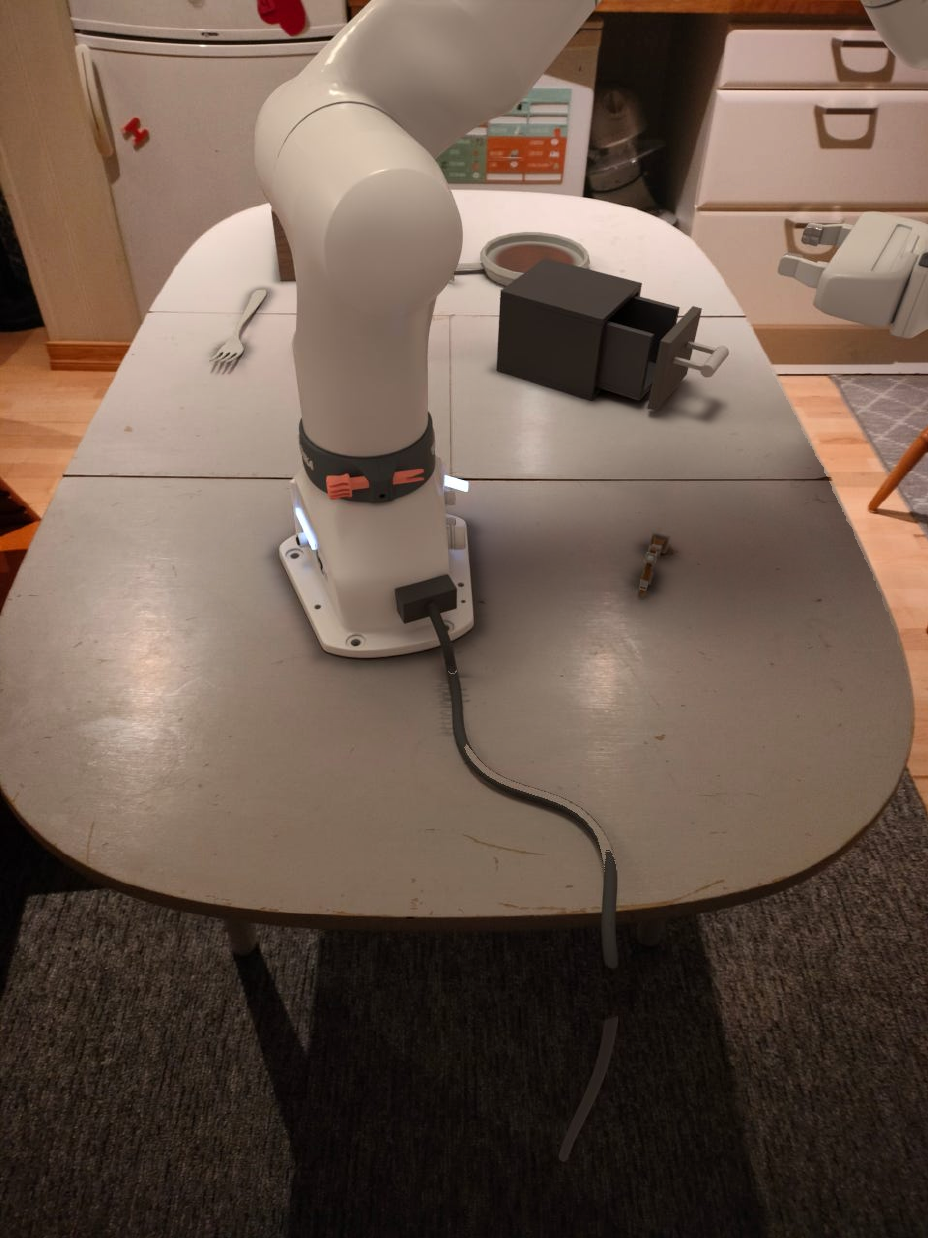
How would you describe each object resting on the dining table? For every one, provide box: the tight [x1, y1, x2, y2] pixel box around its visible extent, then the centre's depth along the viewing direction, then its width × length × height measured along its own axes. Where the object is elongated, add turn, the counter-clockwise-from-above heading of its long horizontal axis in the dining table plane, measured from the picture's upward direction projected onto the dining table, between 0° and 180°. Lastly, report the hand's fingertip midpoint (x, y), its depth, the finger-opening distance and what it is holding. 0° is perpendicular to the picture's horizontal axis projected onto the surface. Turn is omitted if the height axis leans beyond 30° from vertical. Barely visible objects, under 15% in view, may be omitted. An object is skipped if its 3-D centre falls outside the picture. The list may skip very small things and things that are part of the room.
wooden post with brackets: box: [637, 531, 671, 596], centre depth 82 cm, size 2×8×4 cm, turn 159°
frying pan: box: [450, 231, 591, 287], centre depth 130 cm, size 17×3×28 cm
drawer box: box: [496, 258, 643, 401], centre depth 107 cm, size 14×12×11 cm
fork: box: [208, 289, 267, 364], centre depth 115 cm, size 3×24×2 cm, turn 177°
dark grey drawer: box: [596, 295, 730, 412], centre depth 103 cm, size 18×10×9 cm, turn 59°
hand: (792, 246), depth 88 cm, fingers open, 8 cm apart
